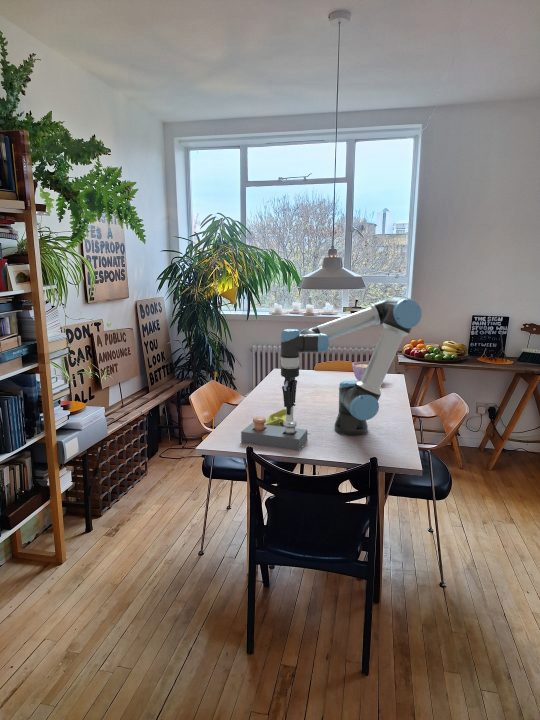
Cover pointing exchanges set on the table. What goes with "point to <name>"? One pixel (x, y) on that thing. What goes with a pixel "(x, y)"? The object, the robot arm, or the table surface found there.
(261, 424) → the terracotta button
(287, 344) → the robot arm
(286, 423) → the grey button
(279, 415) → the yellow-green crumpled fabric
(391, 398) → the table surface
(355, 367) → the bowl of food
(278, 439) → the block
